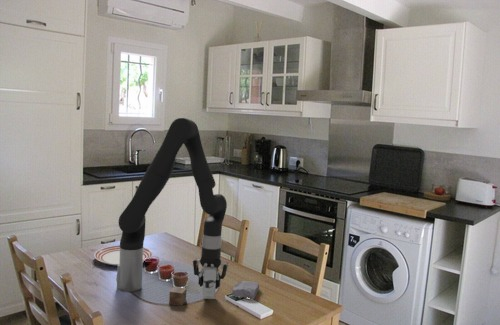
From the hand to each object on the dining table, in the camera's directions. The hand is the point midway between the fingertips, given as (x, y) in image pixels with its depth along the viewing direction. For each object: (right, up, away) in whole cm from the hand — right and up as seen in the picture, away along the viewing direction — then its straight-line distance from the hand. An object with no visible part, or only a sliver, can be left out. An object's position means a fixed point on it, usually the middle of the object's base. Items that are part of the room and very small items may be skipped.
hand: (208, 286), depth 174 cm
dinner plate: (-45, +1, +41) cm, 61 cm away
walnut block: (-12, -5, -3) cm, 13 cm away
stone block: (+14, -6, +9) cm, 18 cm away
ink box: (0, -3, 0) cm, 3 cm away
